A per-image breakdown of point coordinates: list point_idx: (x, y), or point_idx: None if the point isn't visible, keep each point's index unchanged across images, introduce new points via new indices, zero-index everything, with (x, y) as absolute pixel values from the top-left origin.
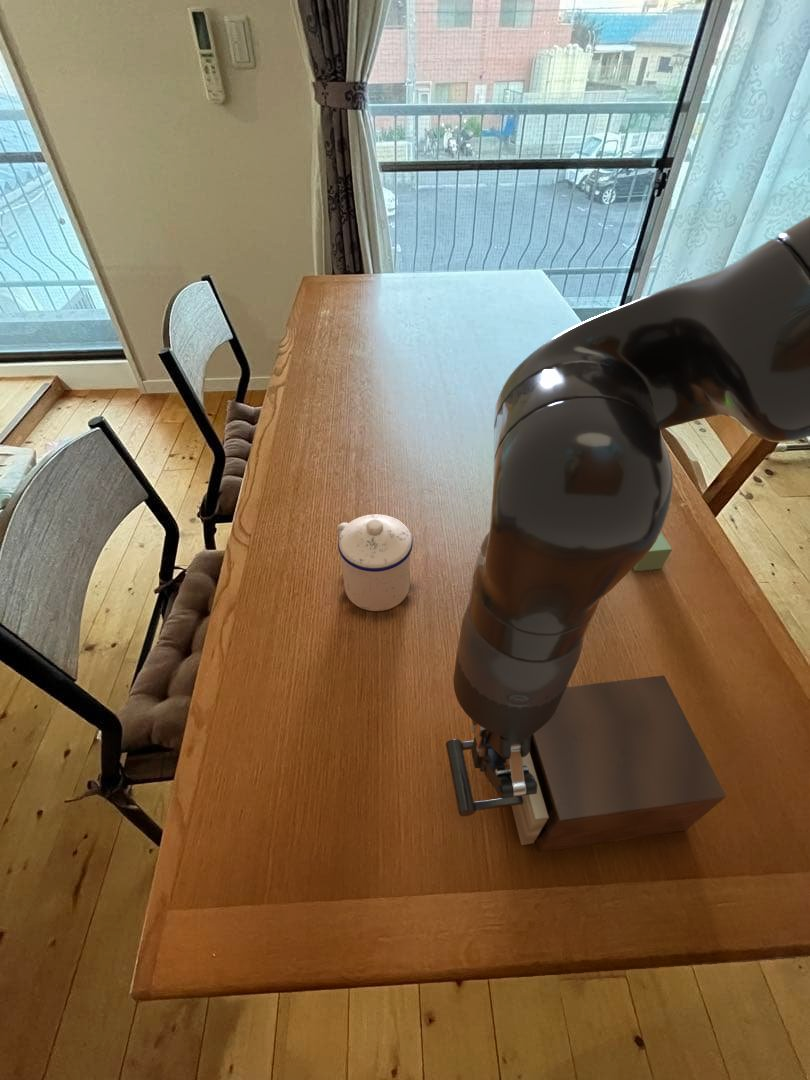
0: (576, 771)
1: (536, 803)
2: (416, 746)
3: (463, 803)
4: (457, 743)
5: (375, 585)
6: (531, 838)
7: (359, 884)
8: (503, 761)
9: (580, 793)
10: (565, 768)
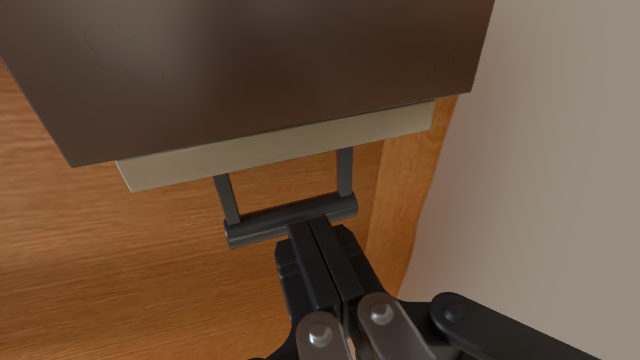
0: (373, 9)
1: (402, 124)
2: (191, 215)
3: (346, 217)
4: (237, 238)
5: None
6: None
7: (356, 238)
8: (457, 352)
9: (435, 15)
10: (360, 49)
